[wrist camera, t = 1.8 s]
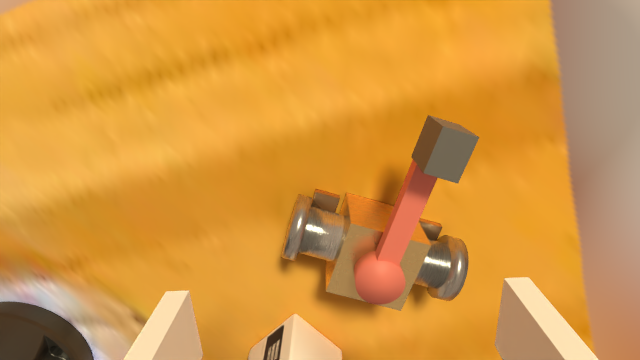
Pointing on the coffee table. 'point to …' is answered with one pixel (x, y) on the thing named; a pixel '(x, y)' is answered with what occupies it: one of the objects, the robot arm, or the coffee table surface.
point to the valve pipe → (372, 245)
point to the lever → (413, 207)
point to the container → (295, 343)
